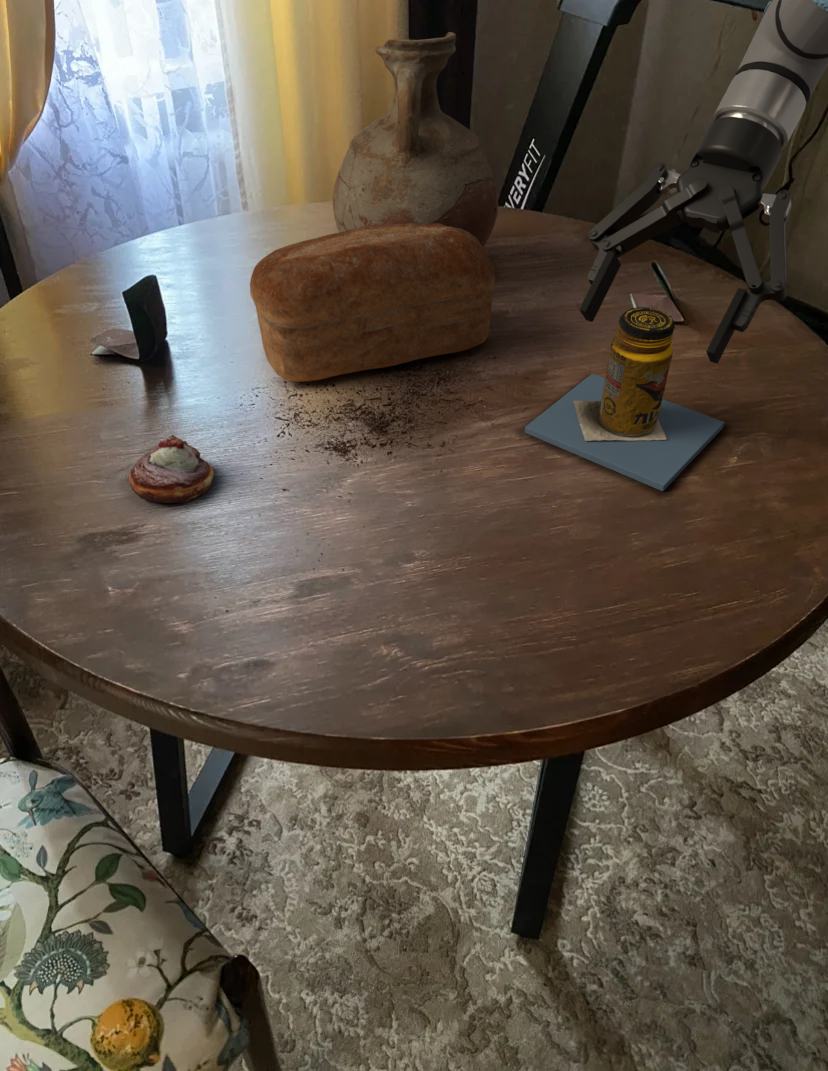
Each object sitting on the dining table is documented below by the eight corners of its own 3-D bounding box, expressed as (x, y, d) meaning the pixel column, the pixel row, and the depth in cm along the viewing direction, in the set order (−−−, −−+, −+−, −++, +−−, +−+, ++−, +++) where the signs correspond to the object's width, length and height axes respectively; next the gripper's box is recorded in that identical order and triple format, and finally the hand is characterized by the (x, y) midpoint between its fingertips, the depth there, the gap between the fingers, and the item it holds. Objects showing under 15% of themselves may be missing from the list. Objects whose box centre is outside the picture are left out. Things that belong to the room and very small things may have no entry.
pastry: (224, 465, 85) (216, 424, 81) (197, 512, 79) (188, 470, 76) (149, 457, 86) (138, 416, 82) (118, 504, 80) (104, 461, 77)
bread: (252, 349, 102) (235, 233, 93) (462, 310, 110) (466, 199, 100) (276, 399, 94) (260, 277, 84) (502, 353, 101) (511, 236, 92)
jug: (477, 243, 126) (488, 11, 106) (509, 309, 110) (529, 50, 90) (333, 252, 124) (316, 17, 104) (344, 320, 108) (327, 57, 88)
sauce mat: (723, 428, 89) (725, 421, 89) (662, 492, 81) (664, 485, 80) (591, 379, 97) (592, 372, 96) (524, 433, 89) (524, 426, 88)
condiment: (666, 440, 86) (692, 334, 78) (584, 442, 86) (601, 336, 78) (650, 402, 91) (672, 299, 84) (572, 403, 91) (587, 300, 83)
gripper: (879, 185, 78) (773, 390, 80) (638, 135, 90) (549, 314, 91) (882, 138, 72) (767, 362, 73) (622, 91, 84) (526, 285, 85)
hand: (646, 336), depth 82 cm, fingers open, 13 cm apart
